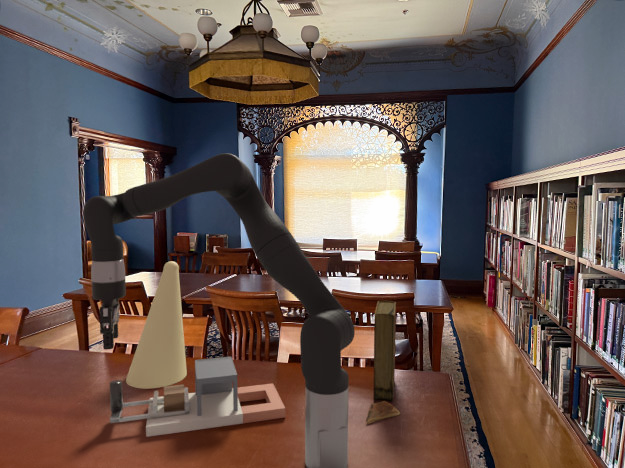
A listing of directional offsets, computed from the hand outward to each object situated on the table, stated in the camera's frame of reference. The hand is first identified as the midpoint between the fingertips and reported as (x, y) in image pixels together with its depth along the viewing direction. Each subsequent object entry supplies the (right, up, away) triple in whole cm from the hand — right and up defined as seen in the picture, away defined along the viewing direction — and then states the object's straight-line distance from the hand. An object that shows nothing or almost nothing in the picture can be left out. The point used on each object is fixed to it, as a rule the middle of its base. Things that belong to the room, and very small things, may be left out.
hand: (111, 343), depth 112 cm
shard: (+68, -21, +7) cm, 72 cm away
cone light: (0, -18, +36) cm, 40 cm away
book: (+71, -20, +23) cm, 77 cm away
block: (+14, -18, +6) cm, 24 cm away
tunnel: (+24, -18, +9) cm, 31 cm away
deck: (+24, -20, +9) cm, 33 cm away
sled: (+8, -18, +4) cm, 20 cm away
